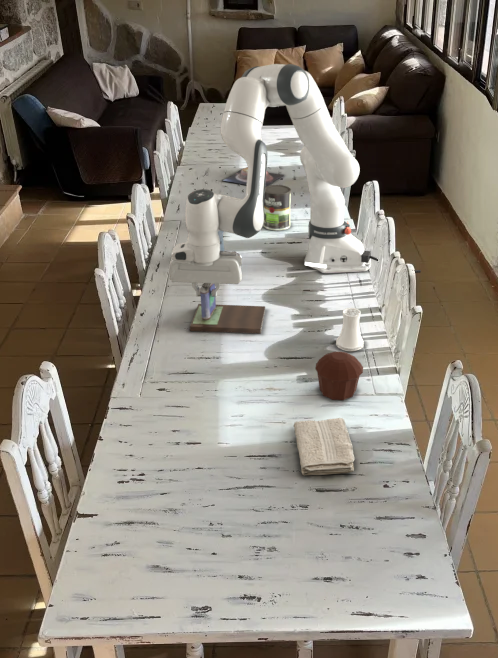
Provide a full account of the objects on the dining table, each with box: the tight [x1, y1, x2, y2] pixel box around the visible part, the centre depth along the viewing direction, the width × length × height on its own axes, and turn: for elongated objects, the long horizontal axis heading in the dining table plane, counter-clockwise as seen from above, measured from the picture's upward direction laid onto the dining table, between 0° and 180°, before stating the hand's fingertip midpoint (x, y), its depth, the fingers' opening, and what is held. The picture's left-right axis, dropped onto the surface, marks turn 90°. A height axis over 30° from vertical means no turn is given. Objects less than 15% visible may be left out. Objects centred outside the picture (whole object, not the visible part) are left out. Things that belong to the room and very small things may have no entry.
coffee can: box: [263, 184, 292, 232], centre depth 270 cm, size 10×10×14 cm
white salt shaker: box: [335, 307, 365, 352], centre depth 197 cm, size 8×8×10 cm
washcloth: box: [293, 417, 356, 476], centre depth 160 cm, size 12×18×3 cm, turn 7°
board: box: [189, 303, 266, 335], centre depth 210 cm, size 20×14×2 cm
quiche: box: [222, 166, 284, 187], centre depth 321 cm, size 21×20×4 cm
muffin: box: [315, 350, 364, 401], centre depth 178 cm, size 12×11×10 cm
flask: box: [199, 283, 217, 320], centre depth 208 cm, size 9×3×11 cm, turn 170°
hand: (206, 295), depth 207 cm, fingers closed on flask, 3 cm apart
